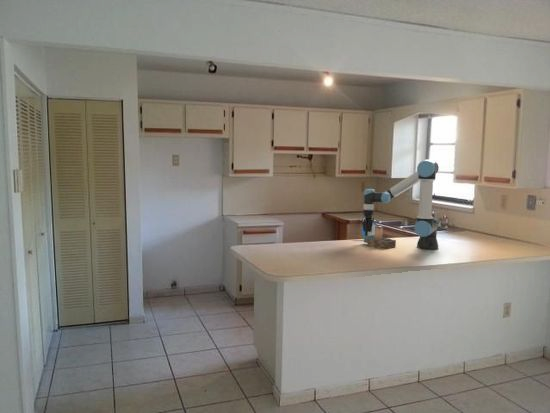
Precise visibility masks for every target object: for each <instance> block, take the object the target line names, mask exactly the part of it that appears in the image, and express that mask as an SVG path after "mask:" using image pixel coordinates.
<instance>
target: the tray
mask: <svg viewBox="0 0 550 413" xmlns="http://www.w3.org/2000/svg"><path fill="white" fill-rule="evenodd" d="M374 238H375V235H368V236H363V243H366V244H367V243H368V239H371V240H377V239H374ZM377 241H382V242H388V241H391V238H389V237H383V236H382V240H377Z"/></svg>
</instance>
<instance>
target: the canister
mask: <svg viewBox="0 0 550 413" xmlns="http://www.w3.org/2000/svg"><path fill="white" fill-rule="evenodd" d="M382 237H383V225H377V226H375V238H374V239H377V240H382Z"/></svg>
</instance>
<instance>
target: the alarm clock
mask: <svg viewBox="0 0 550 413" xmlns="http://www.w3.org/2000/svg"><path fill="white" fill-rule="evenodd" d="M375 226H378V224H377V220H376V219H374V220H373V225H372V230H371V232H370V235H375ZM360 230H361V234H362V235H363V237H364V236H365V231H363V225H362V226H361V229H360Z"/></svg>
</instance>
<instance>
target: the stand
mask: <svg viewBox="0 0 550 413" xmlns="http://www.w3.org/2000/svg"><path fill="white" fill-rule="evenodd" d="M390 239H391V238H390ZM396 243H397V240H396V239H391V241H388V242H382V241H377V240H371V239H368V243H366V244H367V247H373V248H378V249H383V250H387V249H388V250H389V249H392V248H396V247H397V246H396V245H397V244H396Z"/></svg>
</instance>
